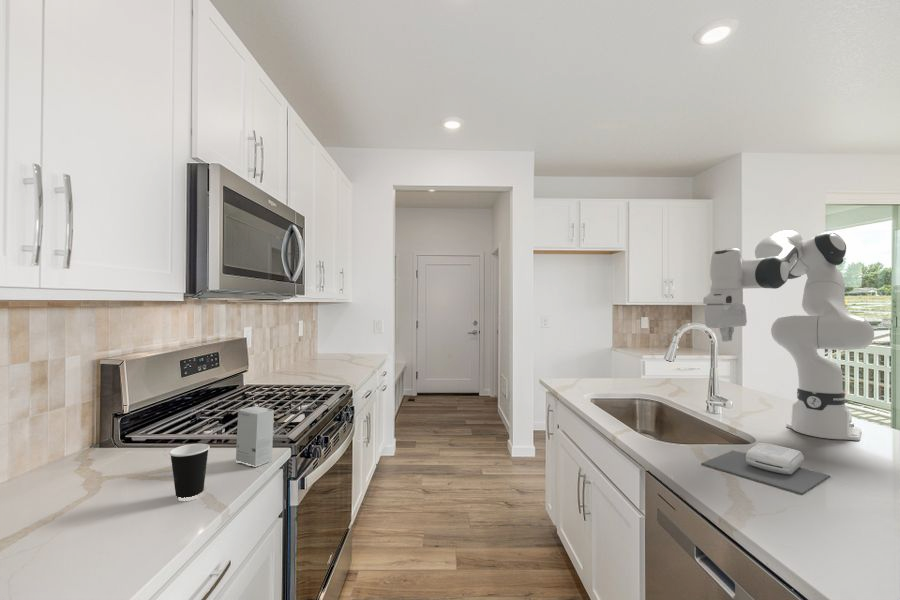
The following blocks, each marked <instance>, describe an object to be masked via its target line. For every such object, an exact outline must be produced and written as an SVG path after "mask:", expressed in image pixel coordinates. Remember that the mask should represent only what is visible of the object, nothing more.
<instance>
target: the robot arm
mask: <svg viewBox="0 0 900 600" xmlns="http://www.w3.org/2000/svg"><path fill="white" fill-rule="evenodd" d="M846 252H847V244H846V242H845V240H844V239H843V238H842V236H840V235H839V234H837V233H835V232H833V231H825V232H821V233H819V234H816V235H815V236H813V237H811V238H809V239H808V238H807V239H806V240H804V239H803V237H802V236H801V234H799V232H797V231H794V230H791V229H790V230H789V229H785V230H781V231H776V232H775V233H772V234H770V235H768V236H767V237H765V238H764V239H762V240H761V241H760V242H759V243H758V244H757V245H756V247H755V249H754V257H755V258H749V259H744V258H742V255H741V250H740V249H739V248H736V247H735V248H733V247H730V248H724V249H719V250H716V251H713V253H712V255H711V259H710V265H709V267H710V268H709V269H710V270H709V271H710V272H709V276H710V279H711V280H710V281H711V286H710V289H709V290H710V292H709V293H708V294H707V295H706V296H705V297H703V300H702V301H703V305H704V323H705V325H706V328H708V329H710V328H711V329H719V334H720V335H721V341H722V342H732V341H733V334H734V332H735V327H746V325H747V324H748V323H747V321H748V320H747V319H748V318H747V310H746V305H745V304H744V292H743V291H744V290H743V289H773V290H774V289H780V288H781V287H782V286H784V285H785V284H786V282H787V281H788V280H793V279H798V278H800V277H802V276H804V275H806V276H807V279H806V282H805V285H804V288H803V294H802V302H801V306H802V310H803V311H805V313H806V314H807V315H789V316H782V317H778V318H776V319H775V321H774V322H773V323H772V325H771V329H770V333H771V336H772V339H773V340H774V341H775V343H777V344H778V345H779V346H781V347H782V348H784V349H785V350H786V351H787V352H788V353H789V354H790V356H791V357H792V358H793V360H794V362H795V363H796V364H795V365H796V368H797V374H798V375H797V376H798V388H797V389H796V391H797V392H796V398H797V401H795V402H793V403H792V407H791V421H790V422H788V423H786V424H785V425H786V428H789V429H791V430H793V431H795V432H797V433H800V434H803V435H806V436H810V437H815V438H821V439H828V440H829V439H830V440H846V441H847V440H849V441H860V439H861V435H862V434H861V433H862V428H860V427H859V426H858V427H857V426H855V424H854V423H853V416H852V412H851V411H850V409H849V408H848V407H847V405H846V403H847V402H846V391H844V390H843V388H844V387H843V382H844V381H843V371H842V368H841V367H840V366H839V365H838V364H837V363H835V362H833V361H831V360H828V359H827V358H824V357H822V356H820V354H819V353H818V351H817V350H820V349H821V350H835V351H836V350H837V351H838V350H839V351H851V350H853V351H854V350H863V349H865V348H868V347H869V346H870V345H871V344H872V342H873V340H874V337H875V332H874V331H875V330H874V328H873V326H872V325H871V323H870V322H869V321H868V320H867V319H865V318H862V317H860V316H857V315H856V314H853V313H852V312H851V311H849V310H848V309H847V306H846V303H845V302H846V301H845V300H846V299H845V295H846V286H845V278H844V276H843V273H842V272H841V270H839V269H838V268H837V266H840V265H842V264H843V262H844V257H846Z"/></svg>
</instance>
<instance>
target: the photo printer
mask: <svg viewBox="0 0 900 600" xmlns="http://www.w3.org/2000/svg"><path fill="white" fill-rule="evenodd" d="M804 461H805V457H804V455H803V453H802V452H801V451H800V450H797V449H793V448H790V447H785V446H780V445H777V444H772V443H771V444H770V443H766V442H758V443H756V445H754V446H752V447H751V448H750V449H748V450H747V451H746V462H747V463H748V464H750V465H752V466H754V467H757V468H760V469H764V470H767V471H771V472H776V473H781V474H792V473H793V472H794V471H795V470H797V469H798V468H799V467H800V468H801V466H802V464H803V463H804Z"/></svg>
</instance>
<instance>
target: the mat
mask: <svg viewBox="0 0 900 600" xmlns="http://www.w3.org/2000/svg"><path fill="white" fill-rule="evenodd" d="M746 454H747V452H746V453H744V452H742V451H741V452H740V451H737V450H732V449H731V450H730V451H728V452H725V453H723V454H720V455H718V456H716V457H713V458H711V459H709V460H708V459H707V460H706V461H703V462H701V466H705V467H708V468H712V469H715V470H718V471H721V472H725V473H728V474H732V475H735V476H738V477H741V478H746V479H748V480H751V481H756V482H759V483H763V484H765V485H768V486H772V487H774V488H779V489H783V490H785V491H789V492H790V493H791V492H792V493H795V494H798V495H802V496H803V495H805V494H806V493H807V491H808V492H810V491H811V490H812V489H814V488H815V487H817V486H818V485H820V484H821V483H823V482H824V481H826V480H827V479H829V478H831V475H830V474H827V473H823V472H819V471H816V470H811V469H808V468H807V469H806V468H804V467H801V466H800V467H799V468H798V469H797V470H795V471H794V472H793V473H792V474H781V473H776V472H771V471H767V470H764V469H760V468H757V467H754V466H752V465H750V464H748V463H747V462H746ZM810 489H811V490H810Z"/></svg>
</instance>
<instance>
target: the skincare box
mask: <svg viewBox="0 0 900 600" xmlns="http://www.w3.org/2000/svg"><path fill="white" fill-rule="evenodd" d="M274 414H275V410H274V409H272V408H266V407H262V406H261V407H260V406H255V405H253V406H250V407H249V406H248V407H245V408H240V409H237V428H236V430H237V431H236V432H237V433H236V449H235V450H236V451H235V461H236V460H237V461H241V462H244V463H248V464H251V465H254V466H256V465H259V464H262V463H265V462H269V461H273V443H274V442H273V441H274V422H275V421H274Z"/></svg>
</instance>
